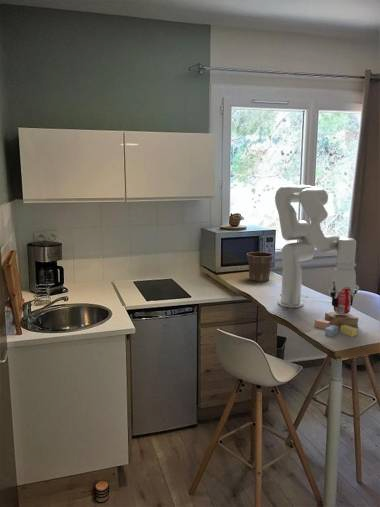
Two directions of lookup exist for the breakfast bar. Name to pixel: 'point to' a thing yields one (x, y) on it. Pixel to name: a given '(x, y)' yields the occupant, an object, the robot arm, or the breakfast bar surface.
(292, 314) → the breakfast bar surface
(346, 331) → the mustard brick
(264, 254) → the plant pot
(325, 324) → the terracotta brick
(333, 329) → the slate brick
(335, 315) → the tan flat block
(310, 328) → the breakfast bar surface
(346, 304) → the soda can
